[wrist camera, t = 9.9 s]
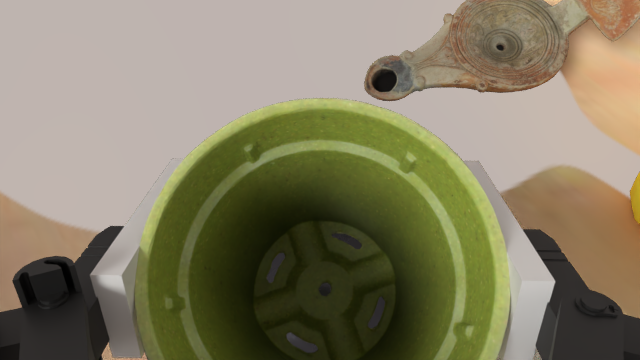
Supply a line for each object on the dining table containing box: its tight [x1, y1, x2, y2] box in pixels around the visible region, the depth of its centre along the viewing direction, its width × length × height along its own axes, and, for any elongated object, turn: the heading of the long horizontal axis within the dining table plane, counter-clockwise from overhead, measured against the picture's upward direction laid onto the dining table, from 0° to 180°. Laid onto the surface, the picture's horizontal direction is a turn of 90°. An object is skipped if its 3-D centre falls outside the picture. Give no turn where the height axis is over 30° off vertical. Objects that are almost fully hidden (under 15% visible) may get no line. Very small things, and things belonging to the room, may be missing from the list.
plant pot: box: [134, 98, 511, 360], centre depth 16 cm, size 9×9×9 cm
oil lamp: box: [364, 0, 640, 101], centre depth 34 cm, size 9×21×10 cm, turn 108°
